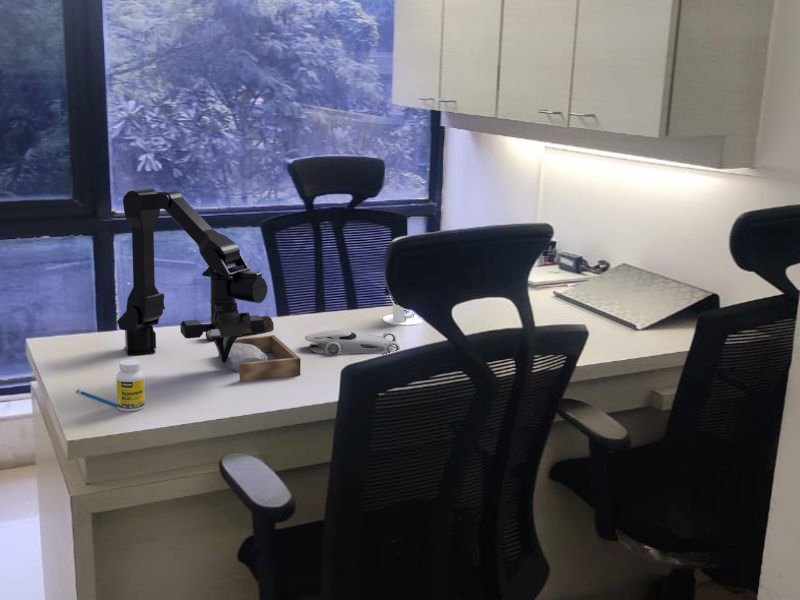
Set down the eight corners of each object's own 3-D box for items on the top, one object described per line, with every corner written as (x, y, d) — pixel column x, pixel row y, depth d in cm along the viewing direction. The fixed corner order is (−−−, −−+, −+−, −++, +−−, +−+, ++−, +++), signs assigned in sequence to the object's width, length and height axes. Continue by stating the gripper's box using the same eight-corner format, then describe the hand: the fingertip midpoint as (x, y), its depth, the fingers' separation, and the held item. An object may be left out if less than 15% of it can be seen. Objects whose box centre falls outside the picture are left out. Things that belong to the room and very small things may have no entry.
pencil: (79, 392, 192) (79, 389, 192) (130, 411, 182) (130, 408, 182) (76, 393, 191) (76, 390, 191) (126, 412, 181) (126, 409, 181)
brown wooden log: (210, 343, 229) (210, 326, 228) (204, 339, 232) (204, 322, 231) (277, 334, 240) (278, 317, 238) (271, 330, 243) (271, 314, 242)
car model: (402, 356, 225) (403, 337, 223) (304, 356, 222) (304, 337, 220) (397, 343, 235) (398, 325, 234) (304, 343, 232) (304, 324, 231)
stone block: (255, 362, 222) (216, 358, 217) (259, 343, 221) (219, 339, 216) (270, 378, 211) (229, 375, 207) (274, 359, 210) (233, 355, 206)
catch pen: (240, 381, 201) (240, 364, 200) (218, 356, 218) (218, 340, 217) (300, 375, 207) (300, 358, 206) (274, 350, 224) (274, 335, 223)
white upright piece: (411, 328, 249) (413, 275, 245) (375, 322, 253) (376, 270, 250) (429, 318, 259) (431, 267, 256) (393, 313, 264) (395, 263, 260)
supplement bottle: (119, 413, 180) (117, 367, 178) (116, 404, 185) (114, 359, 182) (147, 410, 182) (145, 364, 180) (143, 401, 187) (141, 356, 184)
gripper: (189, 308, 194) (191, 376, 198) (273, 302, 202) (273, 368, 205) (179, 296, 204) (180, 362, 207) (259, 291, 211) (259, 354, 215)
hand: (223, 362), depth 209 cm, fingers closed
